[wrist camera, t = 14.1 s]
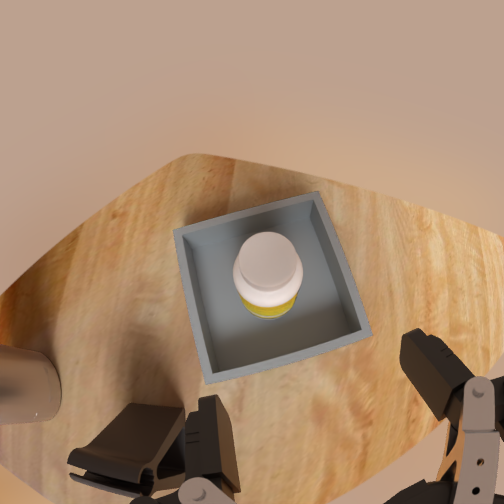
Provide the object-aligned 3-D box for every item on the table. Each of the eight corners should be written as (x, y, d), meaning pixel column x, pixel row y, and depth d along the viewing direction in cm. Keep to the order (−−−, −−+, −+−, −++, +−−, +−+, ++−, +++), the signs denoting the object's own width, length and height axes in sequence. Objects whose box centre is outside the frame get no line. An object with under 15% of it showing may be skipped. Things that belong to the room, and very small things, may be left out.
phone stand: (131, 402, 27) (61, 413, 16) (185, 407, 26) (133, 430, 15) (137, 476, 23) (77, 515, 12) (190, 484, 23) (147, 537, 12)
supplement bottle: (302, 313, 28) (316, 287, 19) (247, 325, 28) (234, 306, 19) (289, 261, 30) (295, 215, 21) (236, 273, 30) (220, 231, 21)
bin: (215, 381, 27) (205, 384, 23) (185, 247, 32) (172, 229, 28) (358, 339, 28) (372, 335, 23) (313, 212, 33) (318, 190, 29)
